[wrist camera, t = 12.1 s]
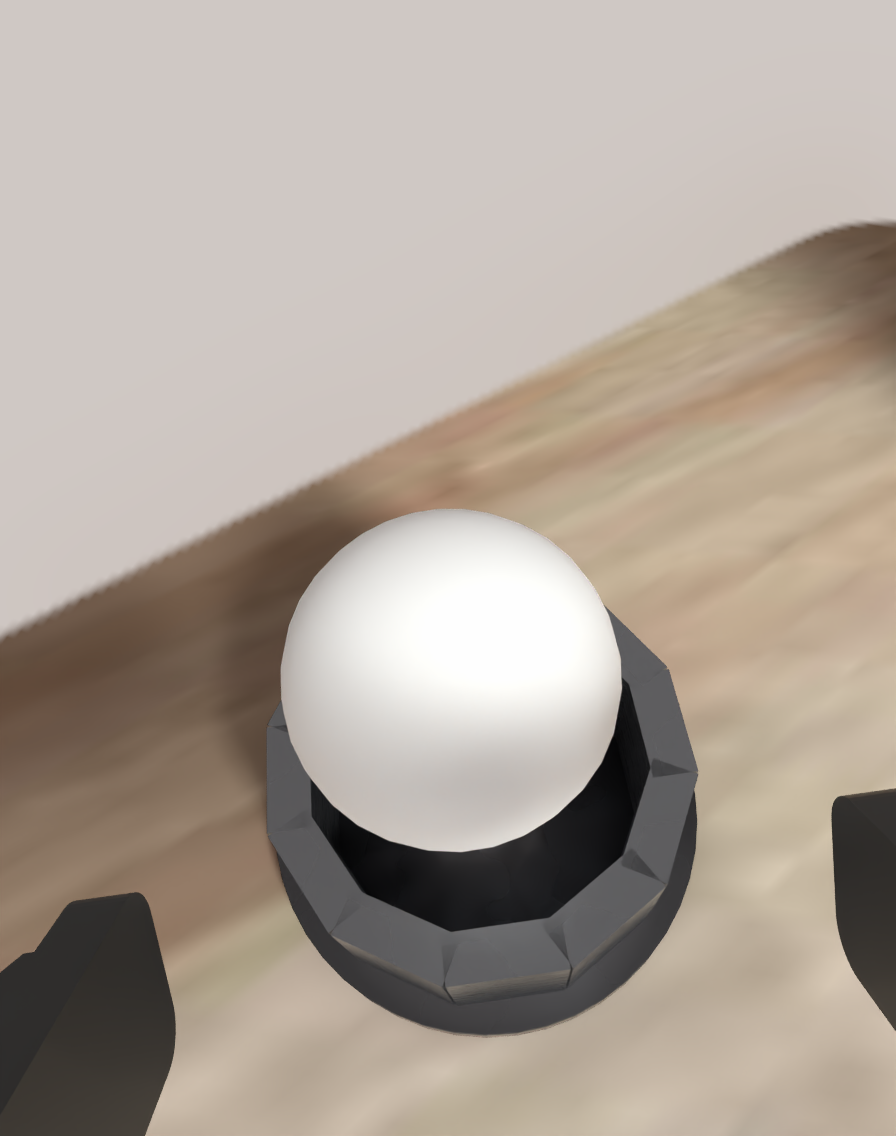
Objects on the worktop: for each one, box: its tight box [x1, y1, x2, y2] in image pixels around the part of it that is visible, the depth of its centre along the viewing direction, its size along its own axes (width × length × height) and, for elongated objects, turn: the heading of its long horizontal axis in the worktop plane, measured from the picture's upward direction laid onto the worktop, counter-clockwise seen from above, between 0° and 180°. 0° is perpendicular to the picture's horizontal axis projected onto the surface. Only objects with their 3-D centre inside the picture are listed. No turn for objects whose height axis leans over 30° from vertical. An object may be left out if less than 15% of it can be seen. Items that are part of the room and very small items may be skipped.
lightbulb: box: [281, 509, 622, 852], centre depth 18 cm, size 6×6×11 cm
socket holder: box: [267, 606, 698, 1038], centre depth 21 cm, size 11×11×4 cm
